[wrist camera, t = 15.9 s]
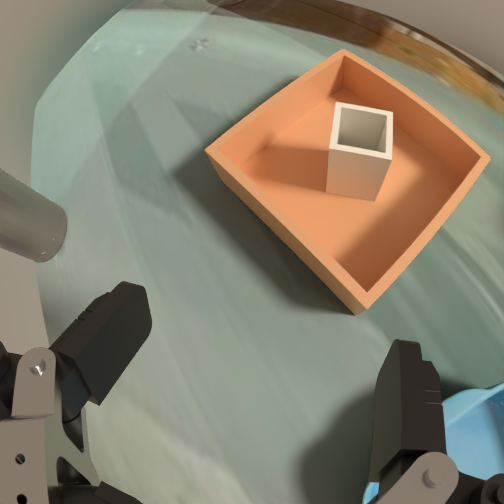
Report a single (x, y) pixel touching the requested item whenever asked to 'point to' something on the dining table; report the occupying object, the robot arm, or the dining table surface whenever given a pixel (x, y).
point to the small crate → (359, 151)
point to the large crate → (342, 207)
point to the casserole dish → (471, 433)
